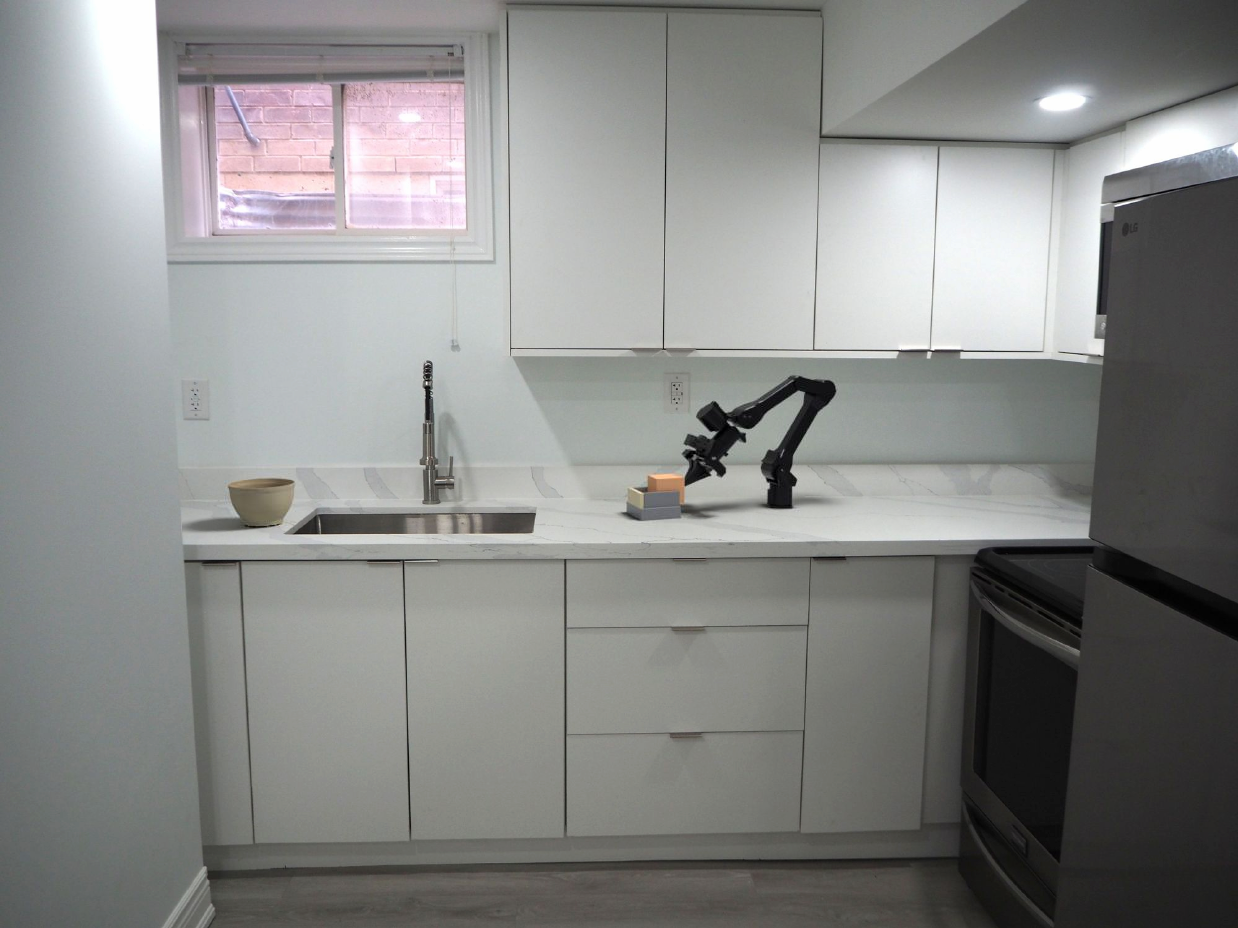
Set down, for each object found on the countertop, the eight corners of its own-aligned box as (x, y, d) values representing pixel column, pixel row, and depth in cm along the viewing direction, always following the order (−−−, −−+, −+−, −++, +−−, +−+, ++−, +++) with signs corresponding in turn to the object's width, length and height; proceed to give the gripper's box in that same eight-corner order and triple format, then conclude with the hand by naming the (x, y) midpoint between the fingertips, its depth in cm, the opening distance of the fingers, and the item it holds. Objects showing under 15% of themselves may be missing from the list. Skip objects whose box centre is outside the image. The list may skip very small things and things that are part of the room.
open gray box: (664, 509, 259) (664, 484, 258) (680, 517, 248) (681, 491, 247) (626, 512, 256) (626, 486, 255) (641, 520, 244) (641, 494, 243)
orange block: (674, 498, 257) (674, 473, 256) (684, 503, 250) (684, 477, 249) (647, 500, 255) (647, 475, 253) (656, 504, 248) (656, 479, 247)
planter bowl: (257, 533, 230) (254, 490, 228) (217, 526, 238) (214, 484, 237) (310, 522, 243) (308, 481, 241) (270, 515, 252) (268, 475, 250)
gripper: (688, 420, 262) (651, 460, 260) (716, 427, 244) (676, 470, 242) (713, 446, 265) (677, 487, 263) (742, 455, 248) (704, 498, 246)
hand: (683, 485), depth 254 cm, fingers closed
